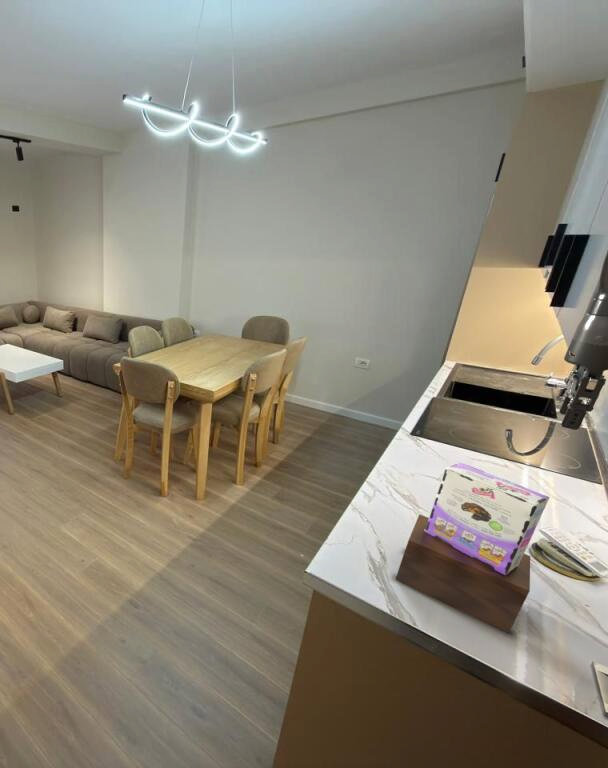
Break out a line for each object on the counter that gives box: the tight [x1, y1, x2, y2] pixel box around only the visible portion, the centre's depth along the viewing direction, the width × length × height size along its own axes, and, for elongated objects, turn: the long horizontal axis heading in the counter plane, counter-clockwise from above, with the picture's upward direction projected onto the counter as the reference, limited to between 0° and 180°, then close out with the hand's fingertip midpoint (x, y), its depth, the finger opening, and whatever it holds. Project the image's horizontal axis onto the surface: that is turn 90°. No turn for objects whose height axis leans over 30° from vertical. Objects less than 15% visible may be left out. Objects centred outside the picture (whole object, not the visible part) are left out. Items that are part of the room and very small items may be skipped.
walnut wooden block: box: [395, 513, 531, 635], centre depth 84 cm, size 18×12×11 cm, turn 44°
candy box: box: [424, 461, 550, 575], centre depth 79 cm, size 14×6×16 cm, turn 25°
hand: (567, 421), depth 76 cm, fingers open, 8 cm apart
